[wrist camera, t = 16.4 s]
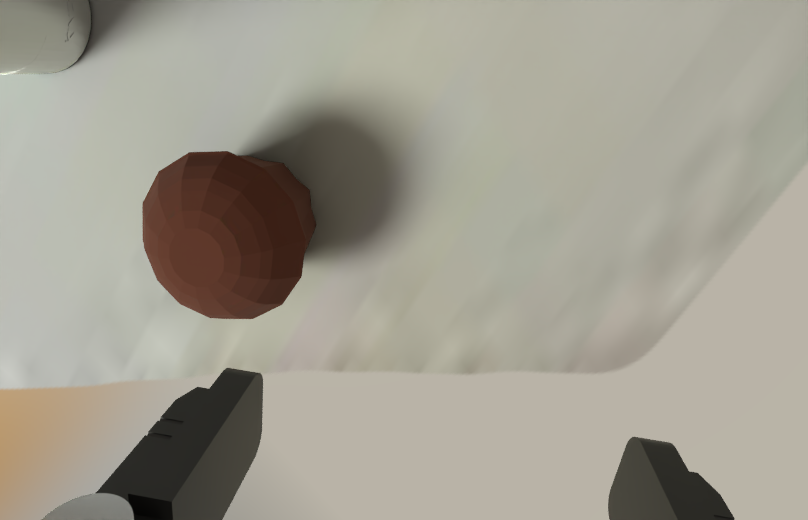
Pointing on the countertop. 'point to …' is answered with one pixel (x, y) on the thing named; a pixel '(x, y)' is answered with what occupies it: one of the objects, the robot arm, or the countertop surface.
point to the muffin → (227, 233)
